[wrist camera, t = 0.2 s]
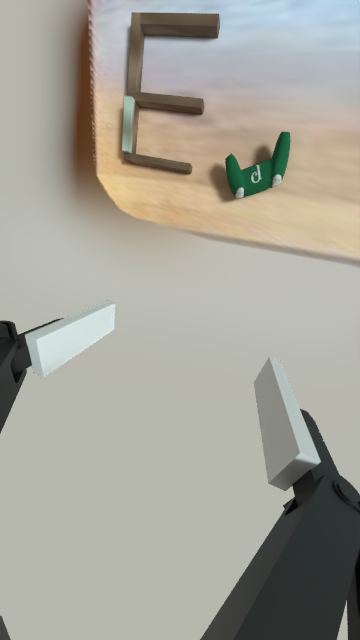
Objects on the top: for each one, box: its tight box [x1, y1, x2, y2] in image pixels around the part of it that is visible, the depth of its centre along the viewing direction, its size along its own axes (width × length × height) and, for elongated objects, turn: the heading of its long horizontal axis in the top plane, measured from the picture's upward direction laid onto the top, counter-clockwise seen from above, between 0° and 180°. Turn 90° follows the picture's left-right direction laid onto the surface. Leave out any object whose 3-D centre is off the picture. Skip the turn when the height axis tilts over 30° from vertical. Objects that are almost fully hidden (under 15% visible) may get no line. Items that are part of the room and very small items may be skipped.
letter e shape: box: [122, 13, 220, 174], centre depth 28 cm, size 17×14×2 cm
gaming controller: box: [226, 132, 290, 198], centre depth 28 cm, size 9×4×6 cm
